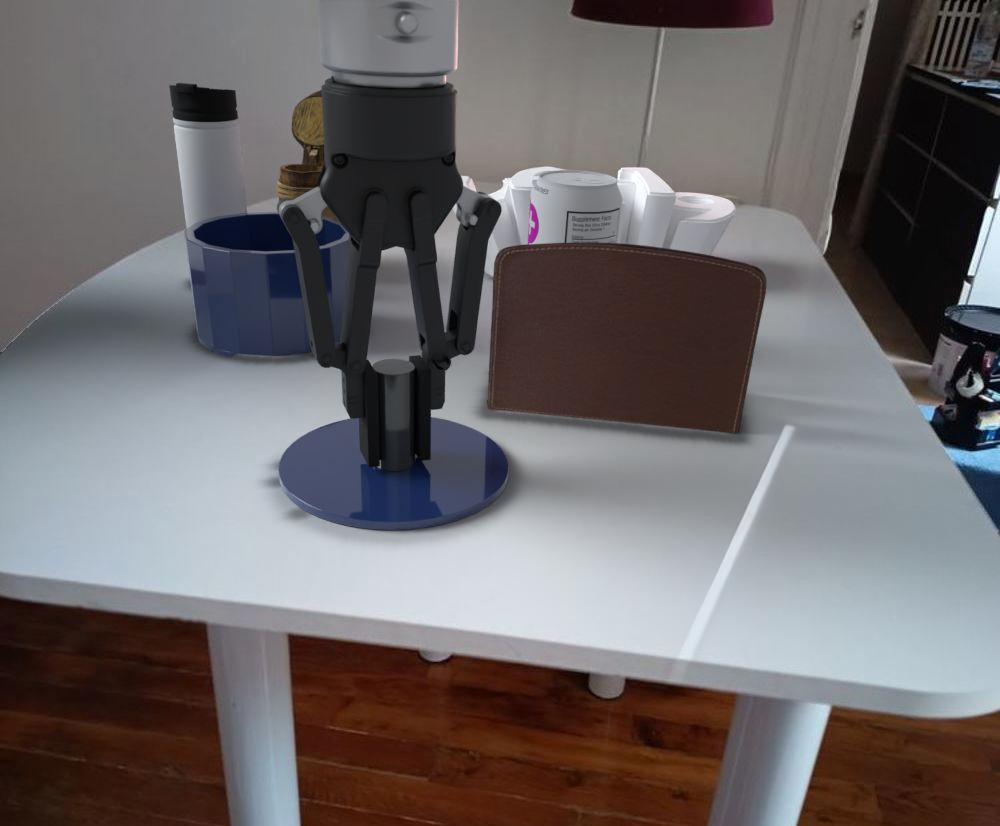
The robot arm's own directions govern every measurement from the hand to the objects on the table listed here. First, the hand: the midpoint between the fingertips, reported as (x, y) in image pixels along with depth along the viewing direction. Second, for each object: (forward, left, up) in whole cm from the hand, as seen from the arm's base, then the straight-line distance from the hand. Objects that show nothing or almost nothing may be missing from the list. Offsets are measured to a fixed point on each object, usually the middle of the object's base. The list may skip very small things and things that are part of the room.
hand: (394, 453), depth 62 cm
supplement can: (0, +32, -2) cm, 32 cm away
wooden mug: (-34, +40, -2) cm, 53 cm away
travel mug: (-38, +28, -2) cm, 47 cm away
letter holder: (+9, +20, -2) cm, 22 cm away
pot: (-24, +19, -2) cm, 31 cm away
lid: (0, 0, -1) cm, 1 cm away
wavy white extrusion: (-7, +56, -2) cm, 56 cm away
